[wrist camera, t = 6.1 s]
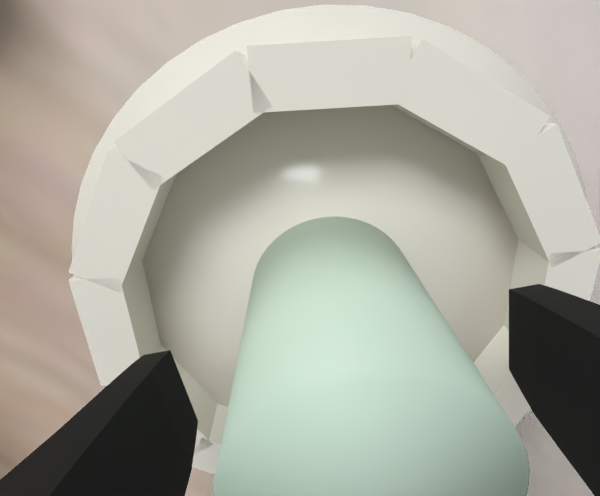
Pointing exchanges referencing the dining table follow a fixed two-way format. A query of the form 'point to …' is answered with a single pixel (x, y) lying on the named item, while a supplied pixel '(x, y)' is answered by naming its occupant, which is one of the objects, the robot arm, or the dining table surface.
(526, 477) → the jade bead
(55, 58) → the dining table surface
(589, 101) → the dining table surface
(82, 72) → the dining table surface
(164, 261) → the round bowl
